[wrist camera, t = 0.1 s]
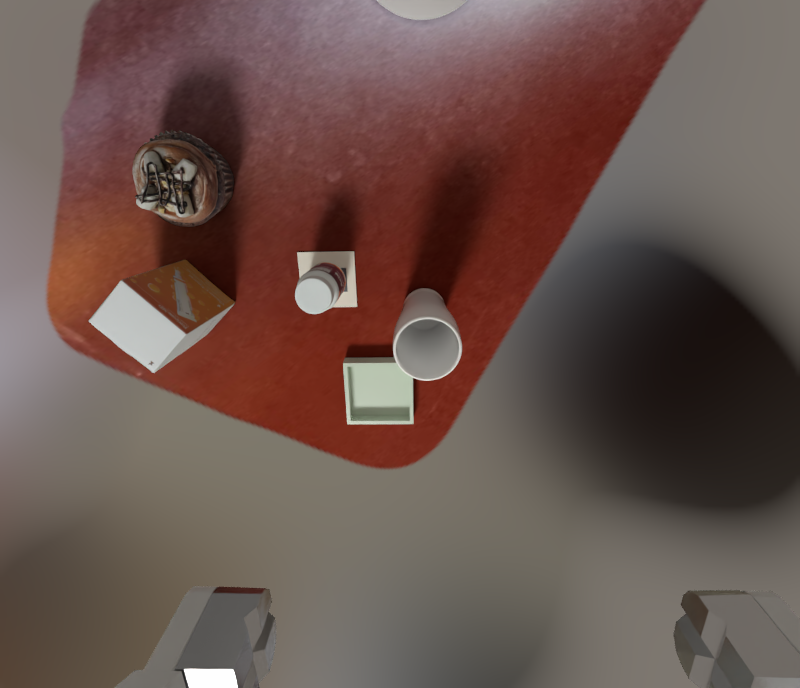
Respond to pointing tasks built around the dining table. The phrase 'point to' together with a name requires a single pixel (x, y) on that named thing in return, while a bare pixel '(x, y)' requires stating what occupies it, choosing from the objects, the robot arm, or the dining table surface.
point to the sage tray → (377, 391)
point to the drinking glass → (426, 337)
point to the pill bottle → (320, 288)
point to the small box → (161, 313)
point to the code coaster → (341, 260)
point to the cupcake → (181, 179)
